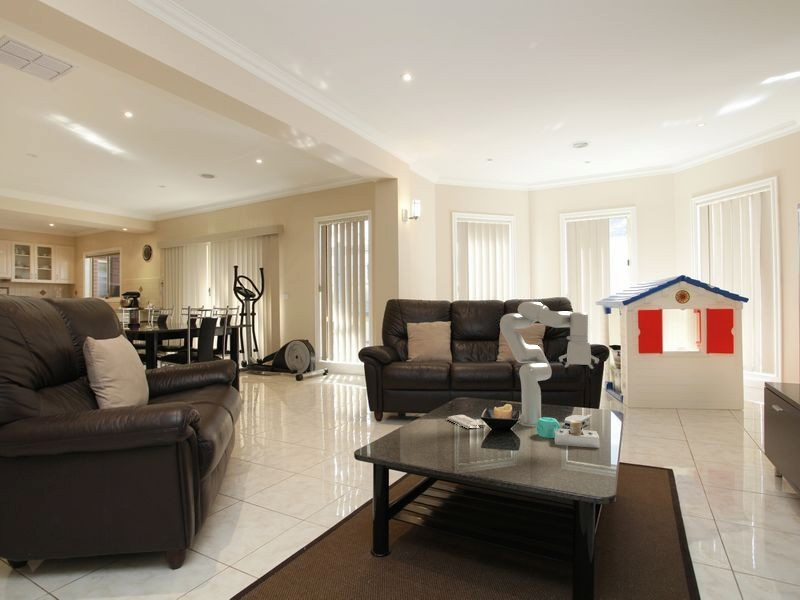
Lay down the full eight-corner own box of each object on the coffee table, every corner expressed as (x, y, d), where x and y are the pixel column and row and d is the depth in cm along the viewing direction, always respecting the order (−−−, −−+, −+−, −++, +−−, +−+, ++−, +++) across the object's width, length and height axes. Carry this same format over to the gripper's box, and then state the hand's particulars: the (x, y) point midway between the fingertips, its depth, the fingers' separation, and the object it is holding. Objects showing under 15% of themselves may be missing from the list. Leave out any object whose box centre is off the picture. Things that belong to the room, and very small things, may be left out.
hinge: (580, 421, 216) (560, 417, 222) (580, 430, 216) (560, 427, 222) (592, 414, 228) (572, 411, 235) (592, 423, 228) (573, 420, 235)
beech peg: (571, 445, 194) (570, 422, 195) (570, 442, 198) (570, 419, 199) (581, 445, 193) (581, 423, 193) (580, 443, 197) (580, 420, 197)
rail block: (555, 445, 194) (554, 433, 194) (554, 439, 203) (553, 427, 203) (599, 449, 188) (599, 436, 188) (596, 442, 198) (596, 430, 198)
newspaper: (444, 421, 238) (444, 416, 238) (464, 418, 242) (464, 414, 243) (464, 432, 217) (464, 427, 217) (486, 429, 221) (486, 424, 221)
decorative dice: (547, 439, 202) (546, 422, 202) (535, 435, 210) (535, 418, 210) (560, 437, 205) (560, 420, 205) (549, 433, 213) (548, 416, 213)
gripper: (559, 339, 202) (558, 376, 202) (600, 340, 197) (600, 379, 197) (558, 337, 209) (558, 373, 209) (598, 339, 204) (598, 376, 204)
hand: (578, 376), depth 203 cm, fingers open, 9 cm apart
